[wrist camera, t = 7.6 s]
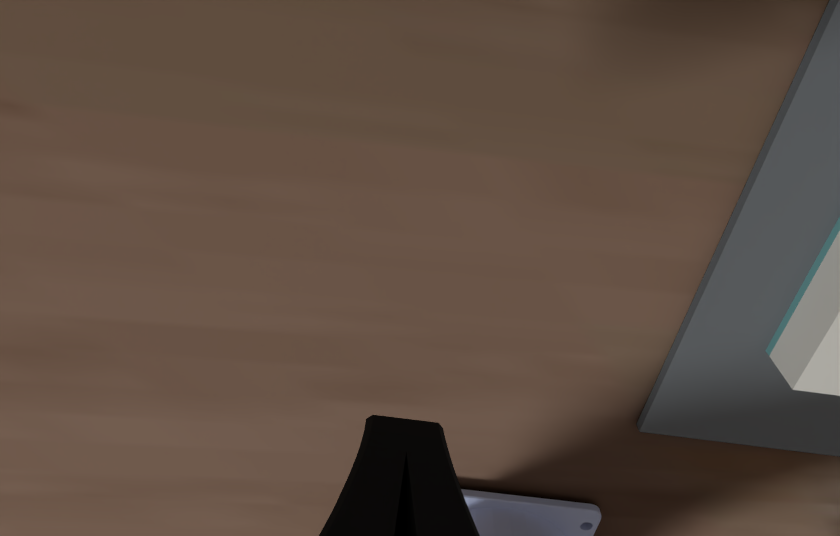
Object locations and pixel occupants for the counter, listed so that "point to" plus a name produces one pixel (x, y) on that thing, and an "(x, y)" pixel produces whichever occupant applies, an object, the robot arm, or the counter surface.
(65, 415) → the counter surface
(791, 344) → the tile
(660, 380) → the mat
